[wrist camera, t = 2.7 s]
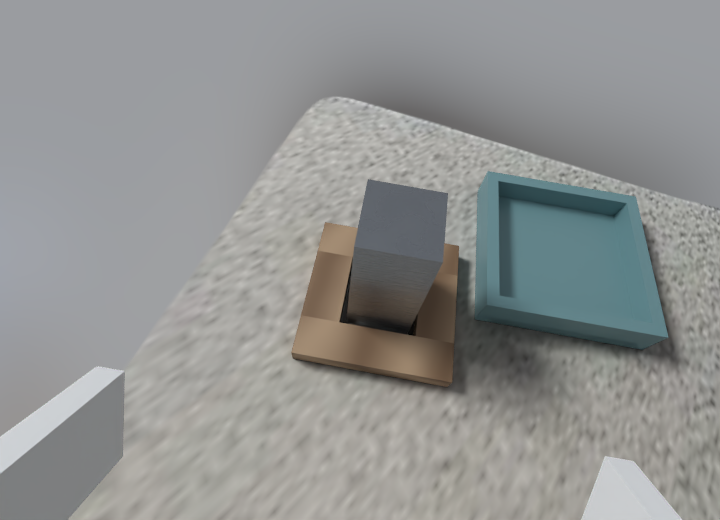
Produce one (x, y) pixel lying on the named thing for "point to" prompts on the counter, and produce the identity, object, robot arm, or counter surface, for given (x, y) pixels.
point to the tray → (565, 262)
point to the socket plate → (367, 345)
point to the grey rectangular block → (395, 255)
